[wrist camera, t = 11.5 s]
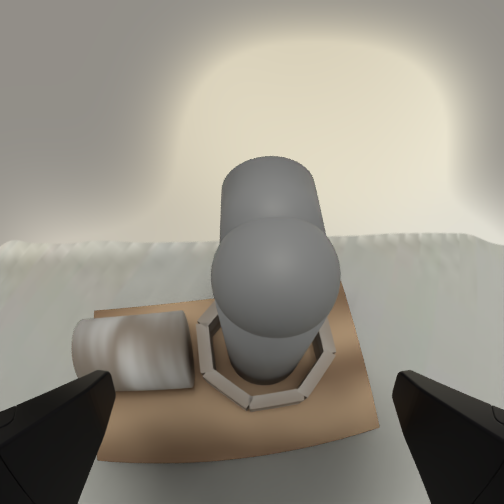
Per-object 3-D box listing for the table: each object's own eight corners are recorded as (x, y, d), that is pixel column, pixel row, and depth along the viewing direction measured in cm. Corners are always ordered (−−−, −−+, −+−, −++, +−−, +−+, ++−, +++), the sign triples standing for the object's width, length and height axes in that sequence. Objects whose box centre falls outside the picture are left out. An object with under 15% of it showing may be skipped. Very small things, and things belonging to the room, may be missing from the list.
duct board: (373, 428, 19) (412, 422, 14) (104, 459, 17) (61, 462, 12) (337, 287, 26) (358, 245, 20) (100, 316, 24) (65, 281, 19)
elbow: (302, 383, 20) (370, 306, 9) (228, 386, 20) (199, 313, 9) (294, 293, 24) (329, 151, 13) (228, 294, 24) (210, 151, 13)
